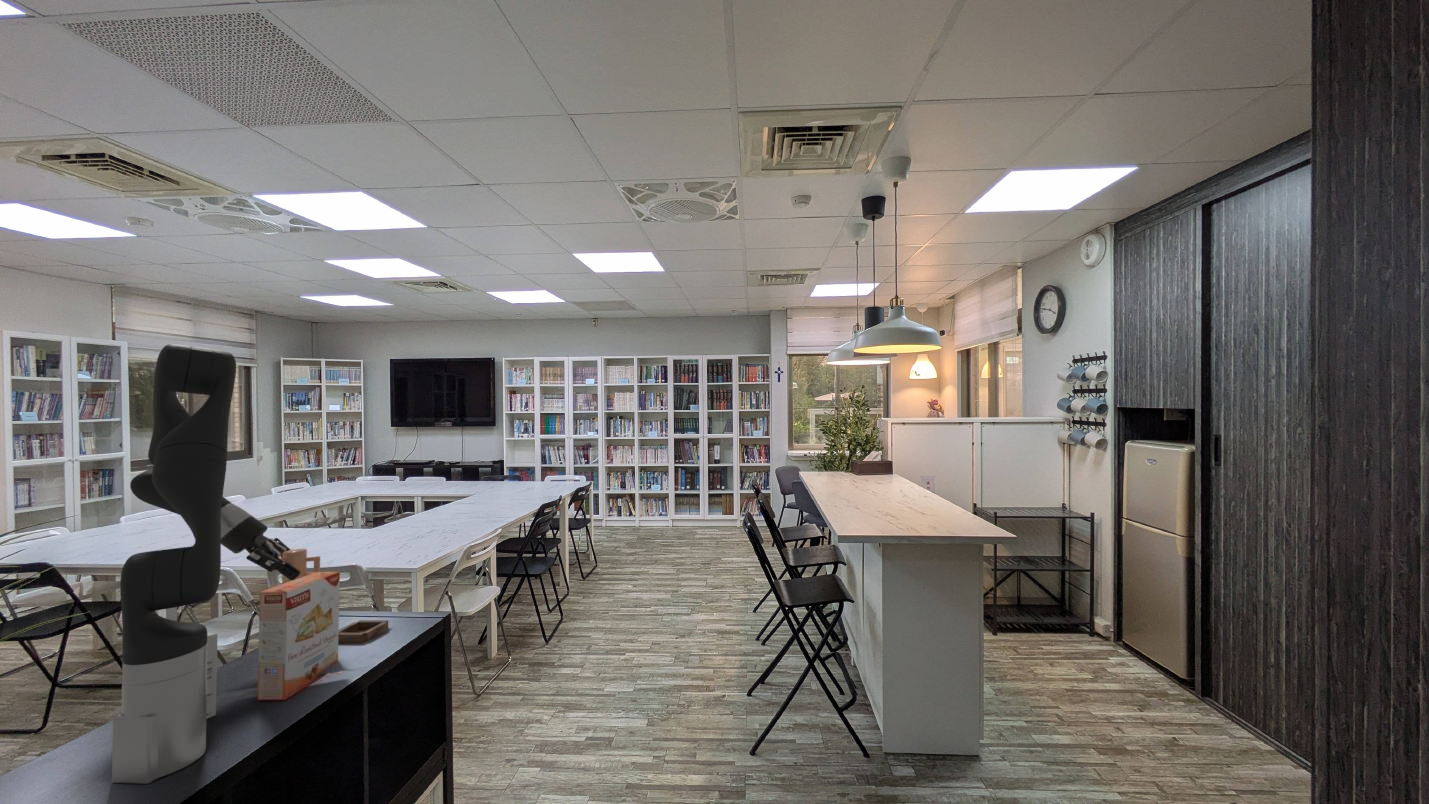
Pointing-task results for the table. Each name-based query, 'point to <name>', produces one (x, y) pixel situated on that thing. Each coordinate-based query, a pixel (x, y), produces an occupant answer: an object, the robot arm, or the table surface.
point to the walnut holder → (362, 631)
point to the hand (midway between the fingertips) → (299, 573)
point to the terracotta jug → (300, 562)
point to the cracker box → (297, 634)
